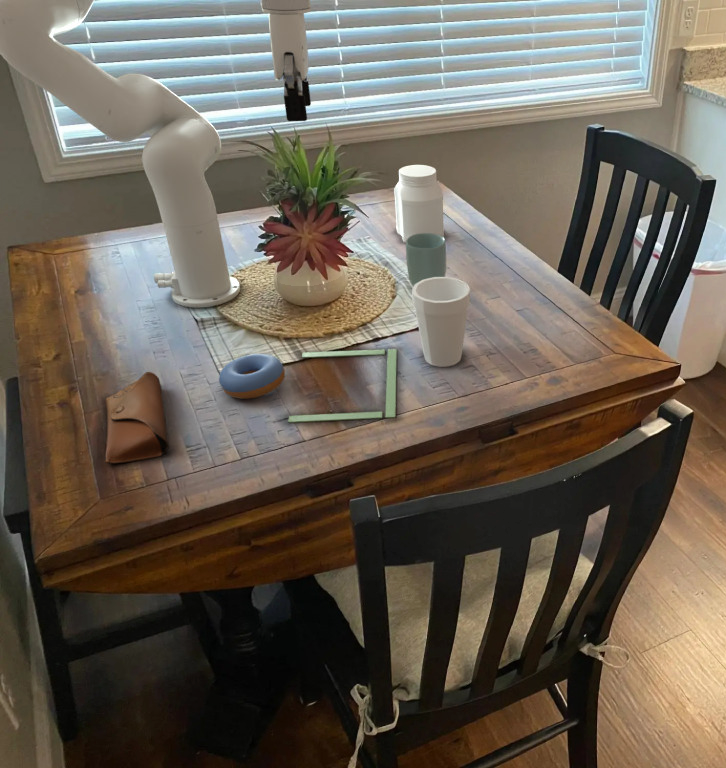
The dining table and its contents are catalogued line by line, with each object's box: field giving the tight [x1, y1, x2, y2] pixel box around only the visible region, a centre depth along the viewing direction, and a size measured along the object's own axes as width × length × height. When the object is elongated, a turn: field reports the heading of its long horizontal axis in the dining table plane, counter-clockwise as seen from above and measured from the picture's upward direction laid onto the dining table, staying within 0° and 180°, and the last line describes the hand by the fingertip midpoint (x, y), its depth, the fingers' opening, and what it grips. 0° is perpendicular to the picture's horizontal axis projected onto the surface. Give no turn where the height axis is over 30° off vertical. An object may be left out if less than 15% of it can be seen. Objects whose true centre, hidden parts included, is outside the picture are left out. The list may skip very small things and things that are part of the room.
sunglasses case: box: [105, 371, 169, 465], centre depth 111 cm, size 18×7×7 cm, turn 25°
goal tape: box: [287, 348, 398, 424], centre depth 122 cm, size 16×20×1 cm
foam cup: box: [411, 276, 471, 368], centre depth 126 cm, size 10×9×13 cm
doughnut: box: [218, 353, 286, 400], centre depth 120 cm, size 10×10×5 cm
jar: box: [393, 164, 445, 244], centre depth 170 cm, size 12×10×15 cm
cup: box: [405, 233, 447, 288], centre depth 149 cm, size 8×8×10 cm
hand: (299, 112), depth 128 cm, fingers open, 9 cm apart
